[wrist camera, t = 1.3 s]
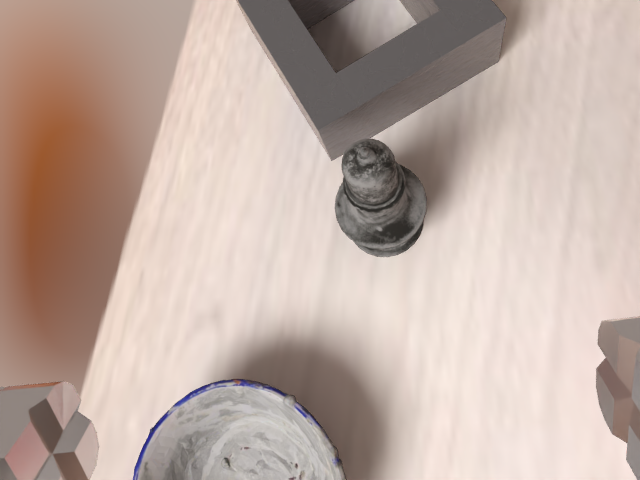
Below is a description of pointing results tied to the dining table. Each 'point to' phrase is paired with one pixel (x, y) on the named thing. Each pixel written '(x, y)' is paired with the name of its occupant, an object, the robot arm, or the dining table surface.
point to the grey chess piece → (379, 200)
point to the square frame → (375, 62)
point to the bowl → (238, 438)
